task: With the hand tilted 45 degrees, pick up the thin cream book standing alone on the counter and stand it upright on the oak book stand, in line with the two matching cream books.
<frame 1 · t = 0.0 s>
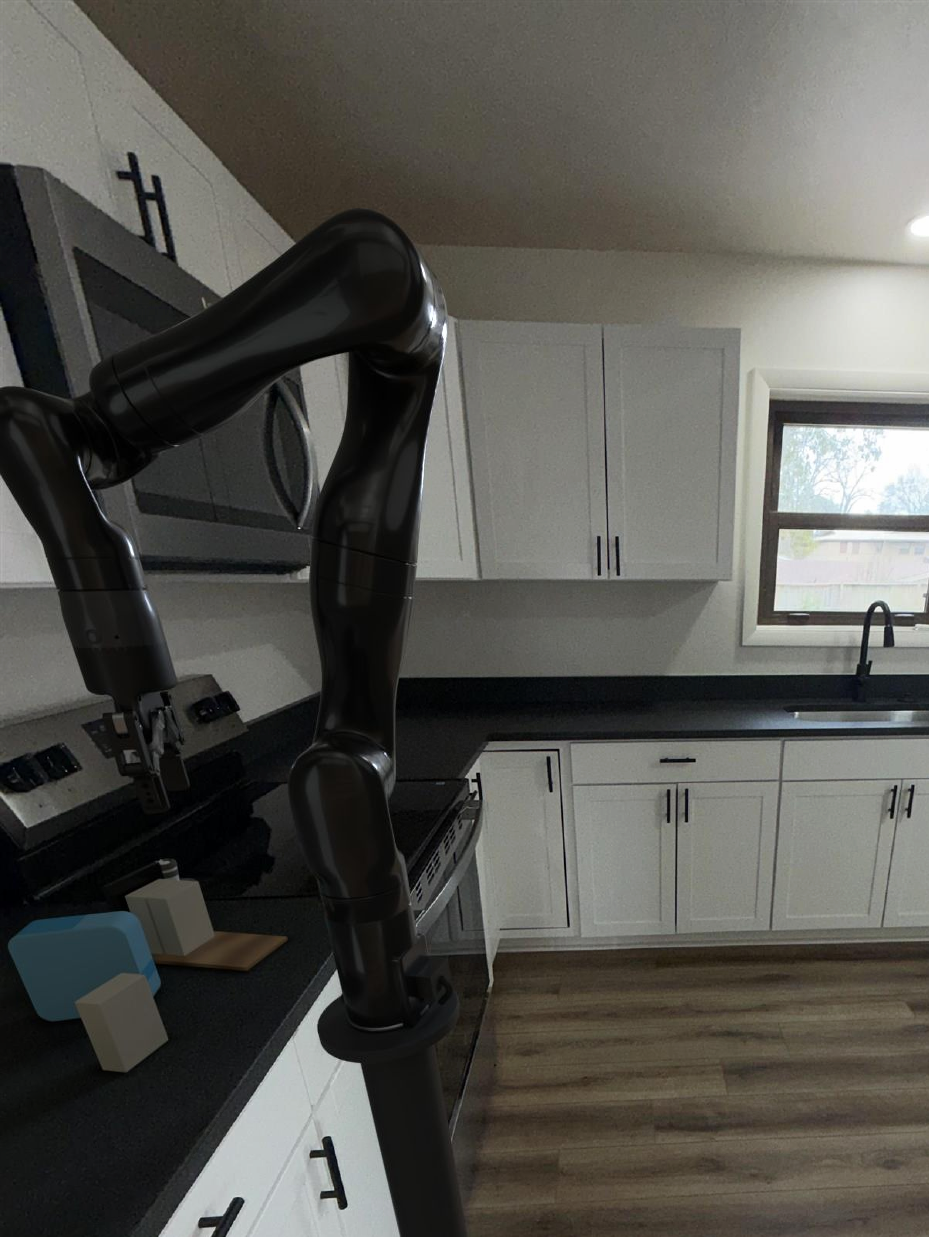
hand: (169, 800, 76), 28 cm above the counter, tool pointing down, fingers open, 8 cm apart
coffee cup: (172, 888, 124), on the counter
rack: (218, 950, 103), on the counter
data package: (105, 1008, 90), on the counter
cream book: (136, 1054, 81), on the counter
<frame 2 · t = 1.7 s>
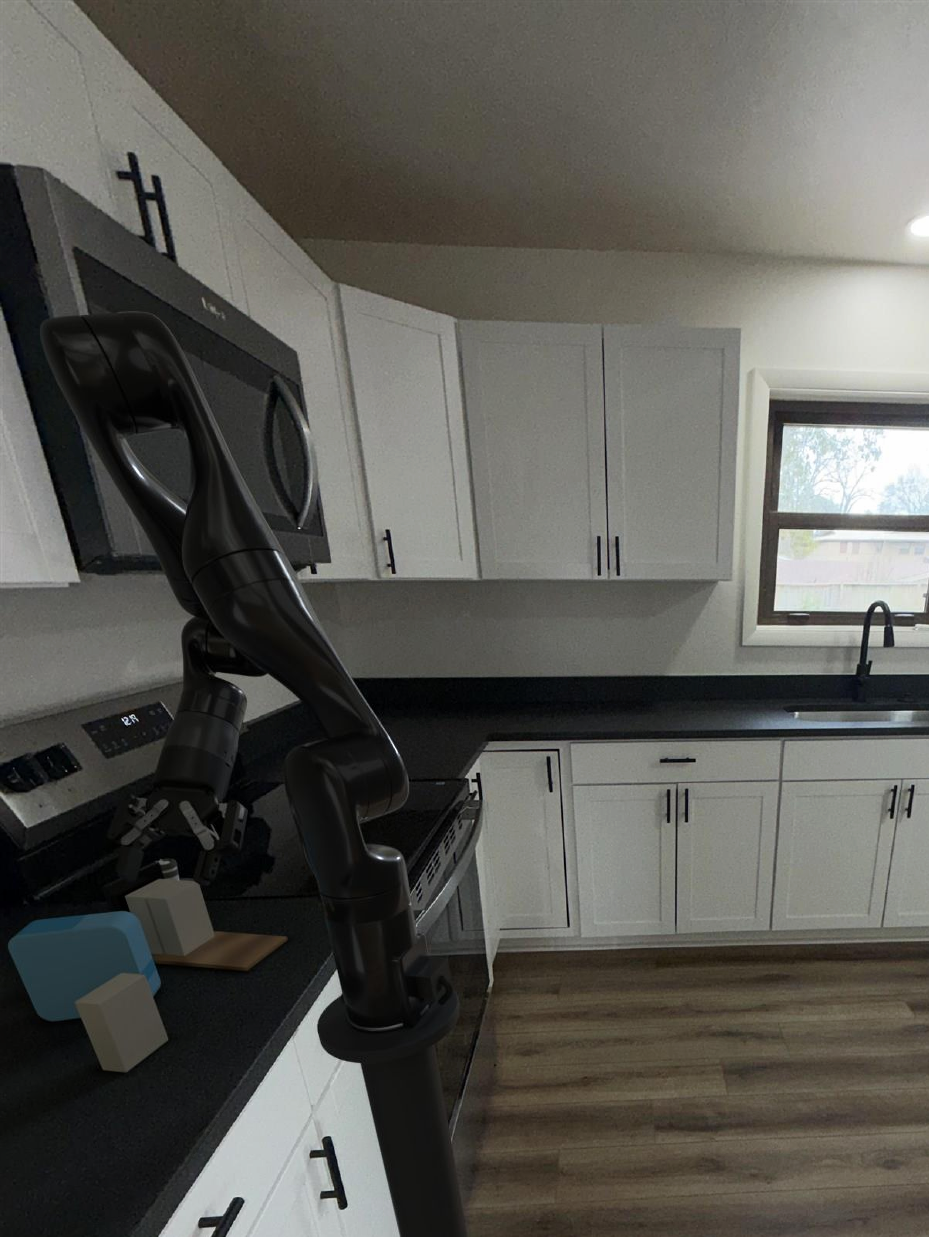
hand: (163, 881, 83), 17 cm above the counter, tool tilted 45°, fingers open, 8 cm apart
nothing on the counter moved.
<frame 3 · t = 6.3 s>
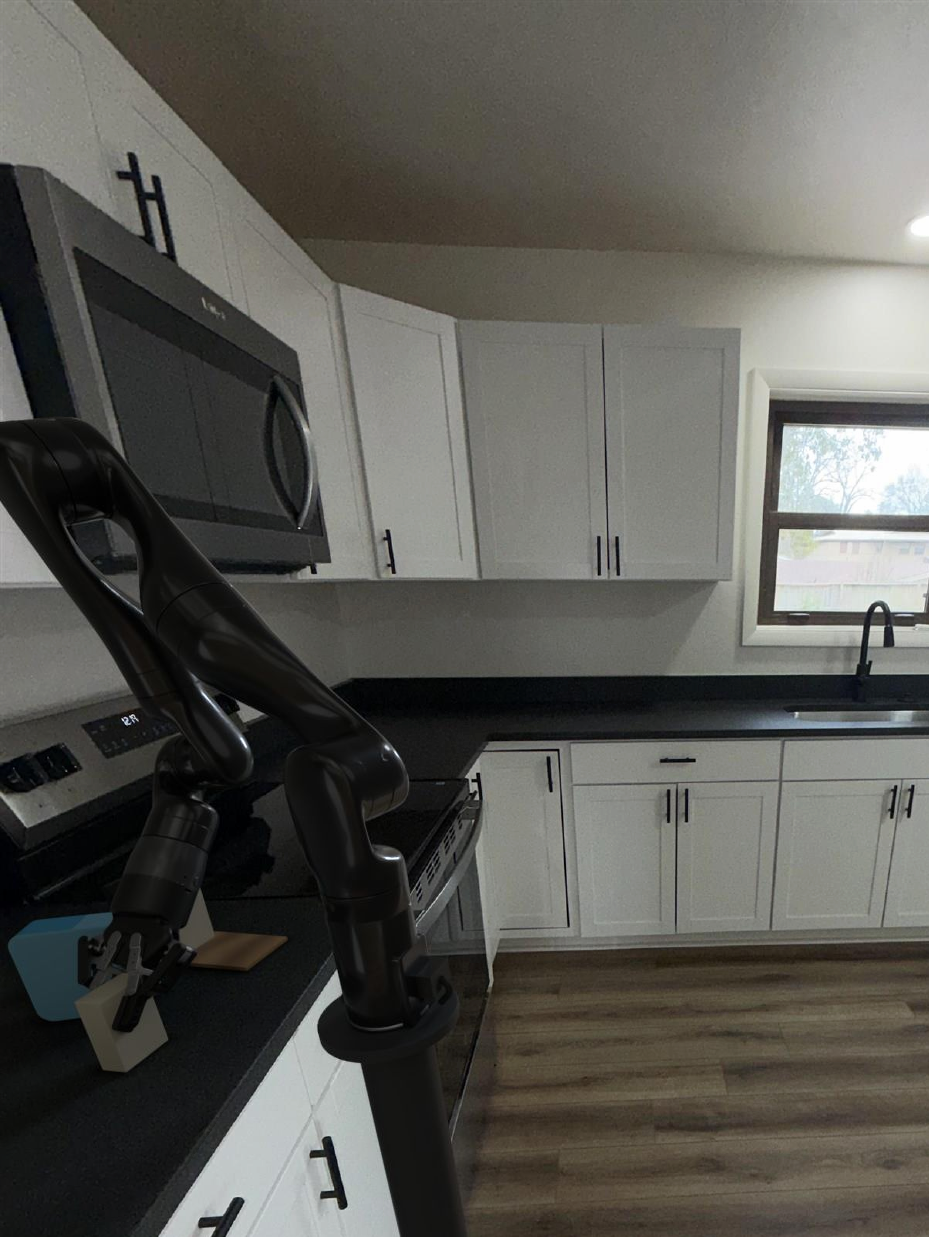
hand: (107, 1029, 77), 5 cm above the counter, tool tilted 45°, fingers closed on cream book, 3 cm apart
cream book: (136, 1054, 81), on the counter, touching gripper
everything else where it was.
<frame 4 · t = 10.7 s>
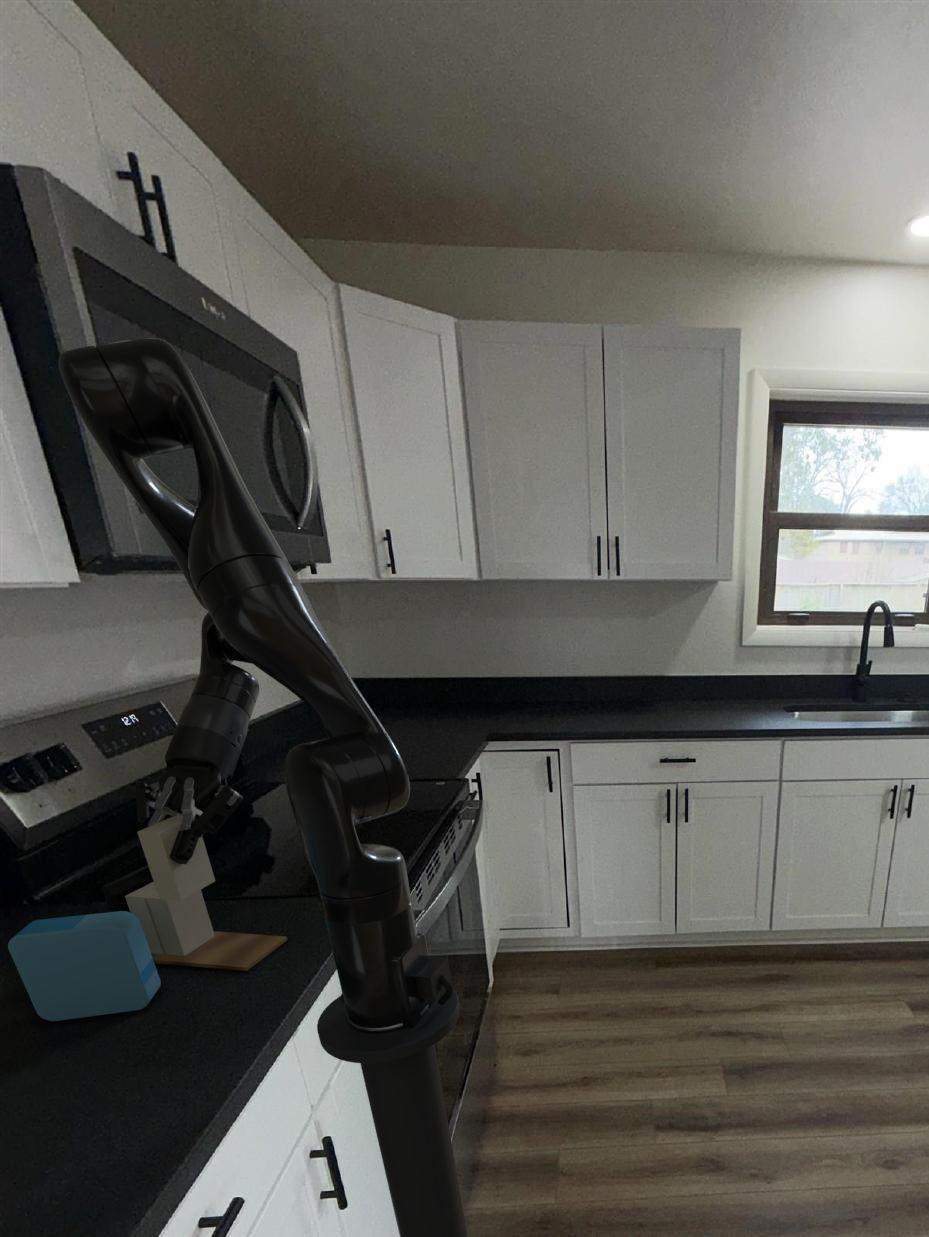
hand: (164, 860, 87), 18 cm above the counter, tool tilted 45°, fingers closed on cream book, 3 cm apart
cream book: (188, 890, 91), point 13 cm above the counter, touching gripper
everything else where it was.
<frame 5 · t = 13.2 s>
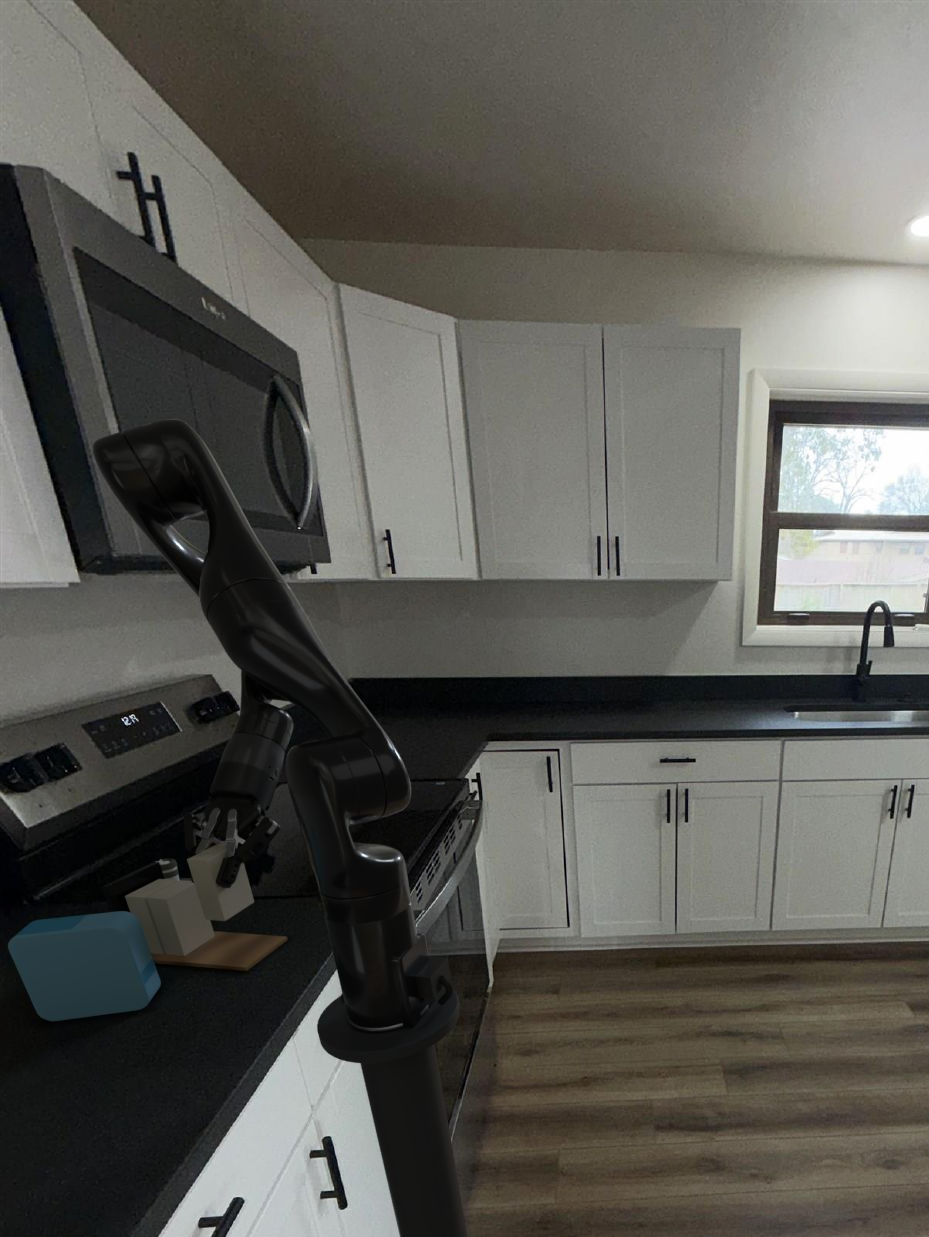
hand: (210, 884, 96), 12 cm above the counter, tool tilted 45°, fingers closed on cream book, 3 cm apart
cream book: (230, 910, 100), point 7 cm above the counter, touching gripper
everything else where it was.
when the fingers open (6 cm above the counter, at t = 15.2 s): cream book stays where it is, resting on rack.
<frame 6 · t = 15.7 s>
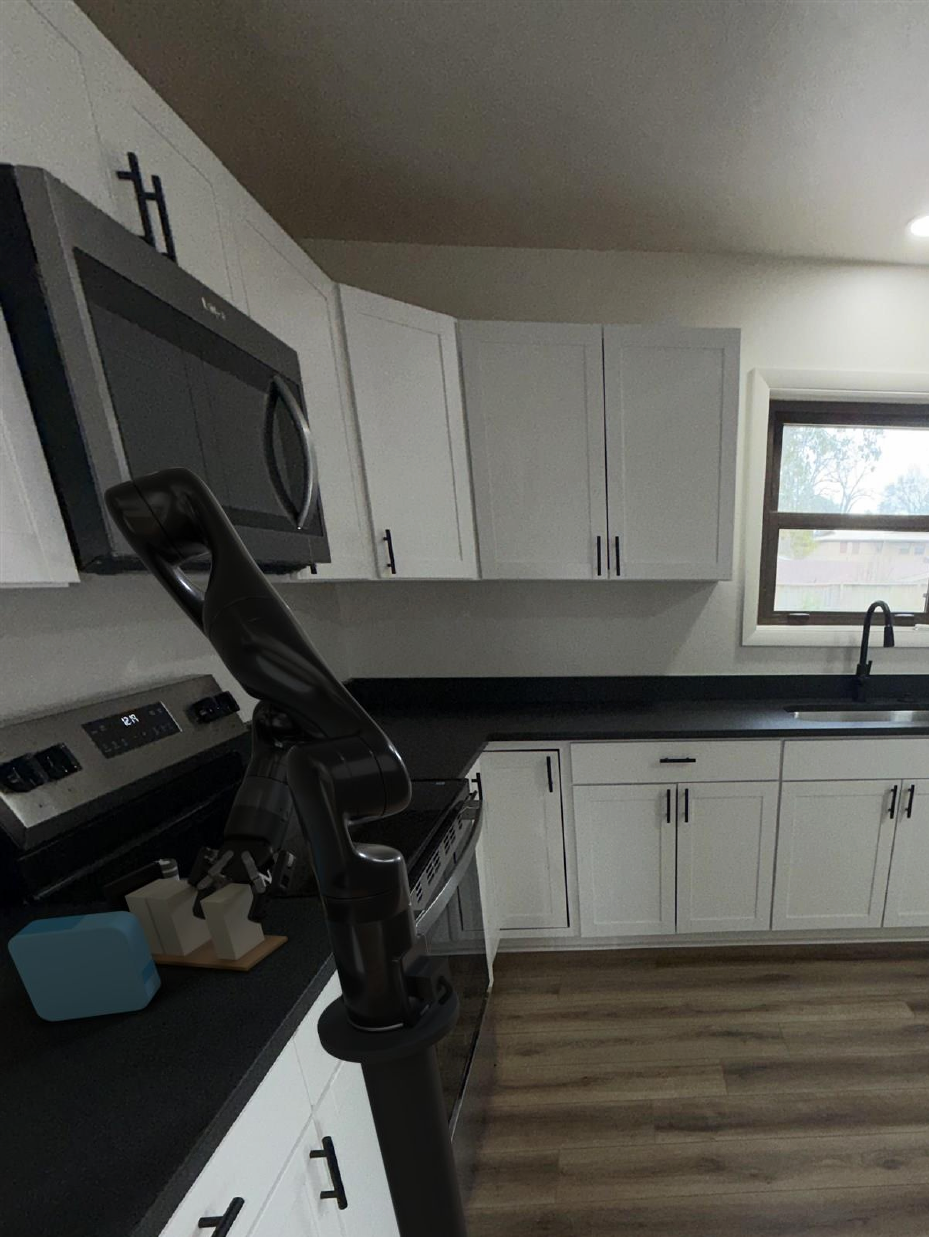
hand: (227, 919, 99), 6 cm above the counter, tool tilted 45°, fingers open, 8 cm apart
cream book: (241, 948, 102), point 1 cm above the counter, touching rack
everything else where it was.
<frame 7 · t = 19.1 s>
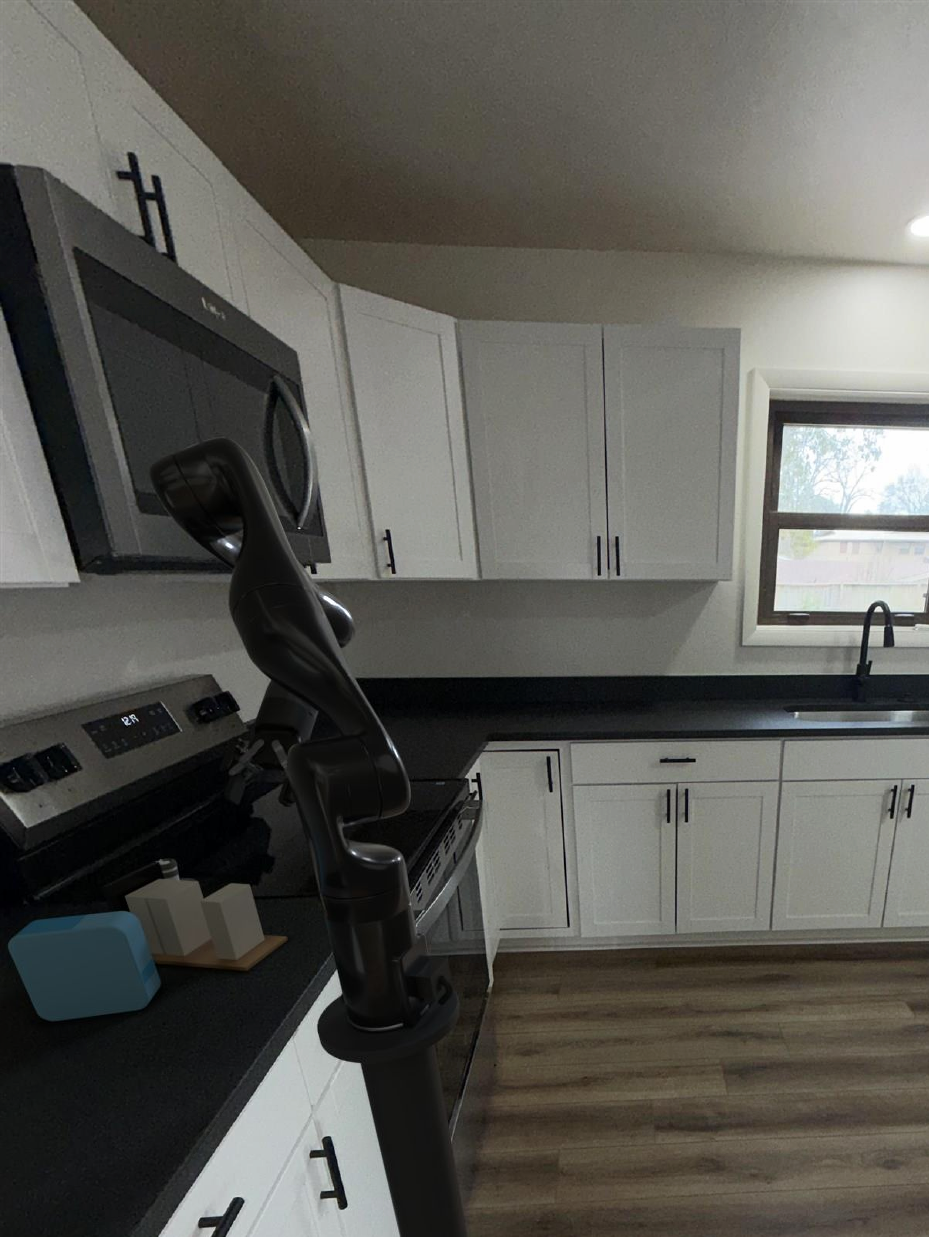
hand: (258, 803, 104), 19 cm above the counter, tool tilted 45°, fingers open, 8 cm apart
nothing on the counter moved.
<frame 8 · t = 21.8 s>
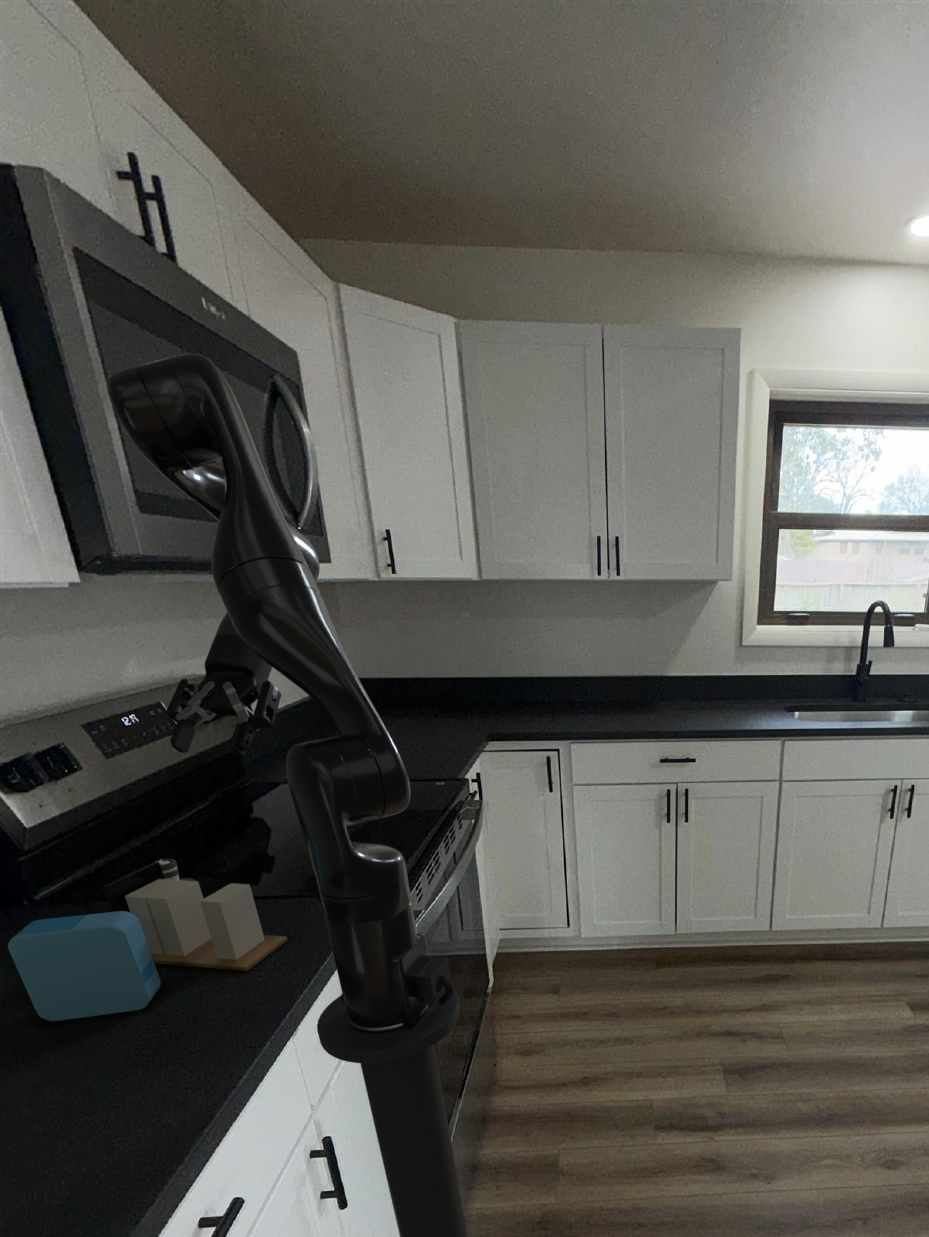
hand: (207, 750, 94), 29 cm above the counter, tool tilted 45°, fingers open, 8 cm apart
nothing on the counter moved.
at the end: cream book 0.1 cm from the target spot on the rack, point 0.6 cm above the rack's base; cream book tilted 0°; the gripper is holding nothing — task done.
